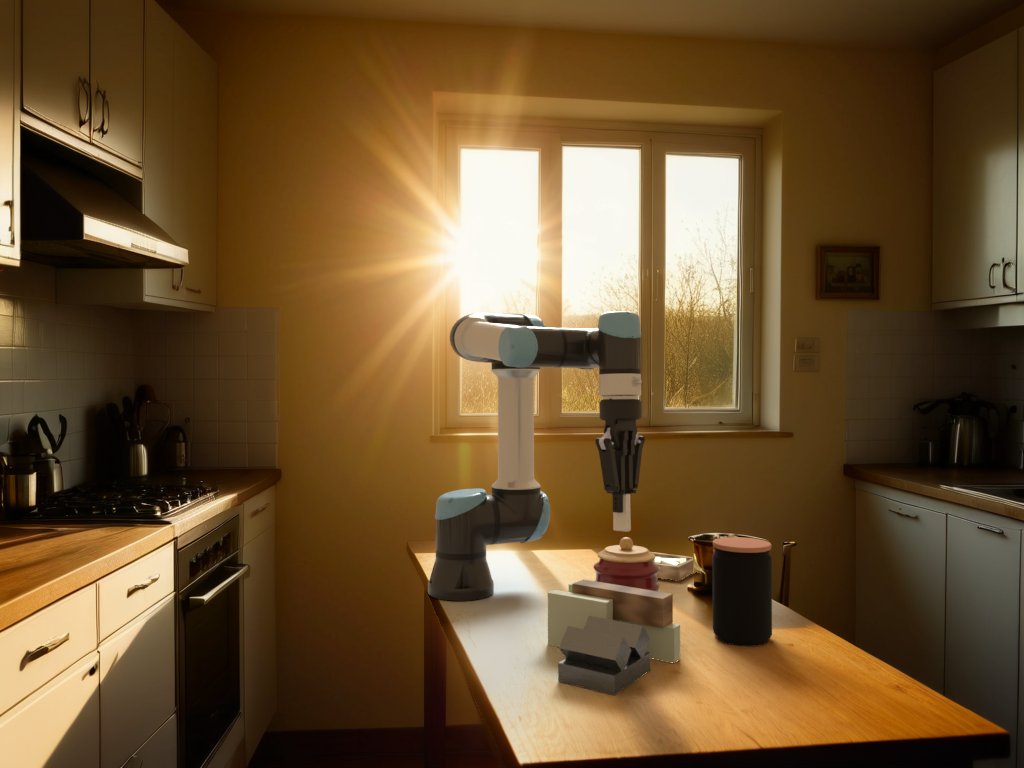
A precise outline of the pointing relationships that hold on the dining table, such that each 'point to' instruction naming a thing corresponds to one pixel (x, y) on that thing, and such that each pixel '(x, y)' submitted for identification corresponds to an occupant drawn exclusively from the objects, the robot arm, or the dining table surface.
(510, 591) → the dining table surface
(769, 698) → the dining table surface
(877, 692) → the dining table surface
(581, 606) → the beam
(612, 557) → the canister
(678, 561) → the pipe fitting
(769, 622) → the coffee jar
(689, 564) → the tray
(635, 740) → the dining table surface
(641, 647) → the v block
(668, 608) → the bar
